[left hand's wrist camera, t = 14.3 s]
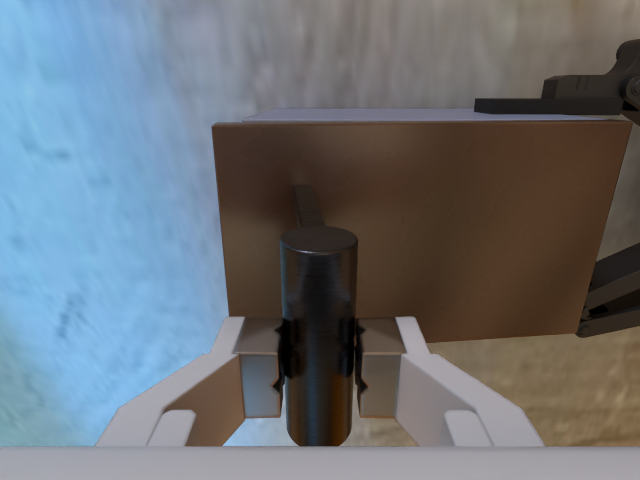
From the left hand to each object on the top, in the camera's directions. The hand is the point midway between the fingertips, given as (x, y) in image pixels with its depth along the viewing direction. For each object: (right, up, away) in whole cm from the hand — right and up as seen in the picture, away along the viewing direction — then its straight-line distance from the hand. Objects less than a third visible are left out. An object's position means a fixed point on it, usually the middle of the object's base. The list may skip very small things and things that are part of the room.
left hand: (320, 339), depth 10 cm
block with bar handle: (+4, +3, +7) cm, 9 cm away
